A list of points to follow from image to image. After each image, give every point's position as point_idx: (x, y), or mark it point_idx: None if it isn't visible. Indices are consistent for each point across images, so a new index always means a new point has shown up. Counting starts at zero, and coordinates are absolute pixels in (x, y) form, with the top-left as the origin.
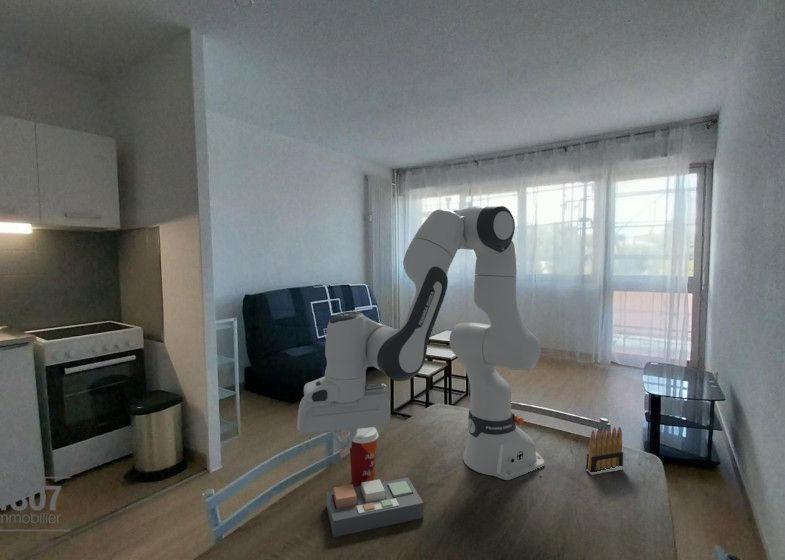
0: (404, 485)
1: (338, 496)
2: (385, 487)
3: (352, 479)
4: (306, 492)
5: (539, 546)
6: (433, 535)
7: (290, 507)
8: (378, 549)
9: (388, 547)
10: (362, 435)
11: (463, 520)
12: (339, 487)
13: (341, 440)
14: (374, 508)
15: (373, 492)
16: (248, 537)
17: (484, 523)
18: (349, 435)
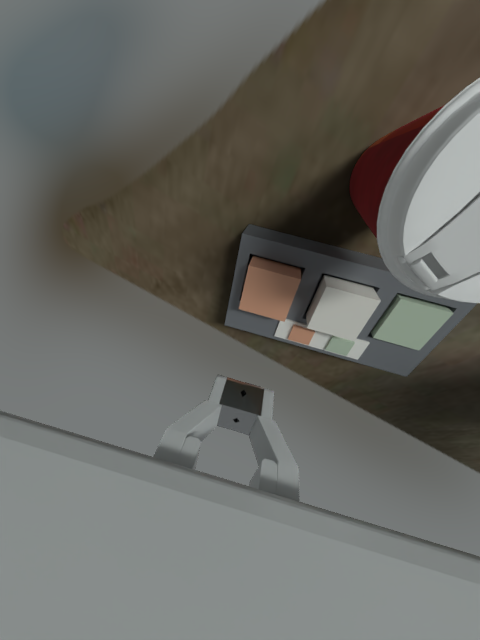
0: (429, 325)
1: (246, 302)
2: (385, 299)
3: (352, 181)
4: (218, 128)
5: (467, 456)
6: (371, 382)
7: (171, 180)
8: (282, 358)
9: (296, 363)
10: (449, 272)
11: (445, 390)
12: (262, 274)
13: (222, 416)
14: (307, 343)
15: (325, 332)
16: (98, 233)
17: (464, 409)
18: (261, 441)
